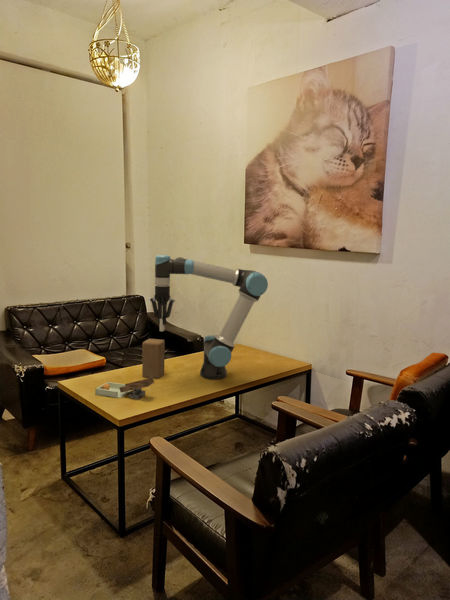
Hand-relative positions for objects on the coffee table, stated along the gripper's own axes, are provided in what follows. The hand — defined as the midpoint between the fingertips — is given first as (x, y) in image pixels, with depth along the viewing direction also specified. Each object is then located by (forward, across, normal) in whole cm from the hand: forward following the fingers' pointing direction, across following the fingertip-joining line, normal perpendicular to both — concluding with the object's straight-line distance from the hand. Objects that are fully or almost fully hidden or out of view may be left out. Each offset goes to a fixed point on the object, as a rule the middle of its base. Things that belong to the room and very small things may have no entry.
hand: (162, 330), depth 235 cm
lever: (+25, +4, +15) cm, 29 cm away
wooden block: (+30, +11, -13) cm, 34 cm away
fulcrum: (+29, +4, +19) cm, 35 cm away
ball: (+27, +21, +19) cm, 39 cm away
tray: (+29, +17, +19) cm, 39 cm away
